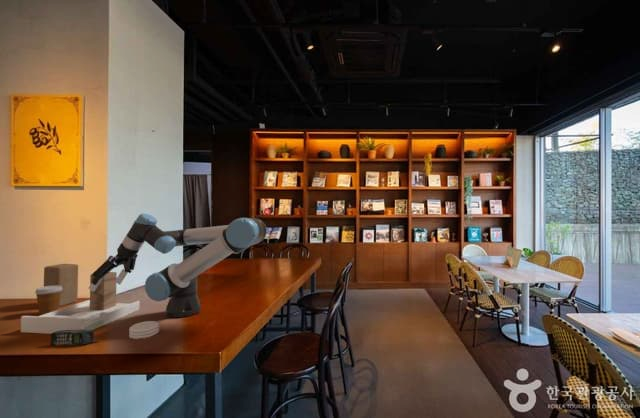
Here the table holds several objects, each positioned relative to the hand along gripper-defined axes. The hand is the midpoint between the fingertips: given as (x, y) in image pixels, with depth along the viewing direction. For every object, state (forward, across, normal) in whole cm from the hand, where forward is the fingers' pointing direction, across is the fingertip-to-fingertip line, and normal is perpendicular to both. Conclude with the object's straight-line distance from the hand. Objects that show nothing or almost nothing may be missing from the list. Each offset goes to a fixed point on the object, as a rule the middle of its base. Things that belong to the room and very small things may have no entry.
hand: (105, 286), depth 127 cm
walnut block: (+15, -8, 0) cm, 17 cm away
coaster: (-2, +11, +32) cm, 34 cm away
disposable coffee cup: (+31, -5, -20) cm, 37 cm away
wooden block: (+35, -18, -27) cm, 48 cm away
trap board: (+17, 0, +1) cm, 17 cm away
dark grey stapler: (+8, +22, +16) cm, 29 cm away
